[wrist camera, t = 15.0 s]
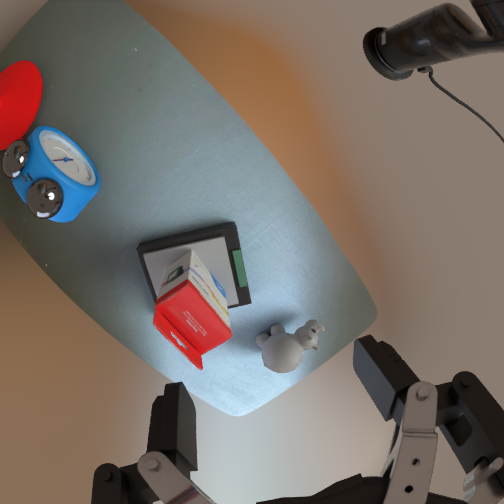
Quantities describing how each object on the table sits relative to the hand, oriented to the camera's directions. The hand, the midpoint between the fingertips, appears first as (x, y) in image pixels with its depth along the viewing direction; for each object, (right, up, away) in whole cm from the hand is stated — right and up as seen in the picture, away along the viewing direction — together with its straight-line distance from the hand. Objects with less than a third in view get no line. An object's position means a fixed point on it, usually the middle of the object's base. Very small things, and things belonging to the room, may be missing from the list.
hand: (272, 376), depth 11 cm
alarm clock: (-28, +18, +23) cm, 40 cm away
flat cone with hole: (-41, +31, +16) cm, 54 cm away
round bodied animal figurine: (+5, -9, +38) cm, 40 cm away
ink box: (-9, +2, +28) cm, 30 cm away
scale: (-10, +2, +31) cm, 33 cm away
